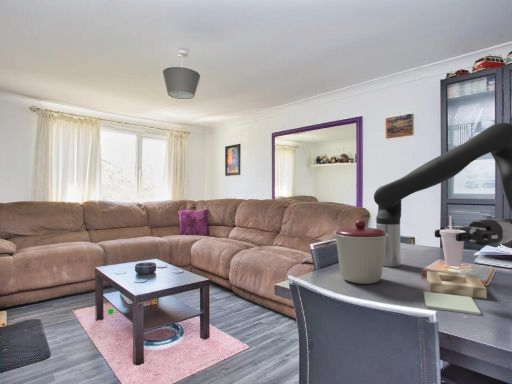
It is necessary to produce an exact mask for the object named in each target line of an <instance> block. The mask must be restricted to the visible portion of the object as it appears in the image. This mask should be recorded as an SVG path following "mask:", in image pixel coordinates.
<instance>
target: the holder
mask: <svg viewBox="0 0 512 384" xmlns="http://www.w3.org/2000/svg"><path fill="white" fill-rule="evenodd" d="M426 280H427V284H428V288H429V292H431V293H440V294H449V295H457V296H466V297H471V298H476V299H484V300H486V299H487V287H486V286H485V285H484V284H483V282H482V281H481V280H480V279H479V277H477V275H473V274H461V273H453V272H452V273H451V272H441V271H440V272H439V271H428V270H427V271H426Z"/></svg>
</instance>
